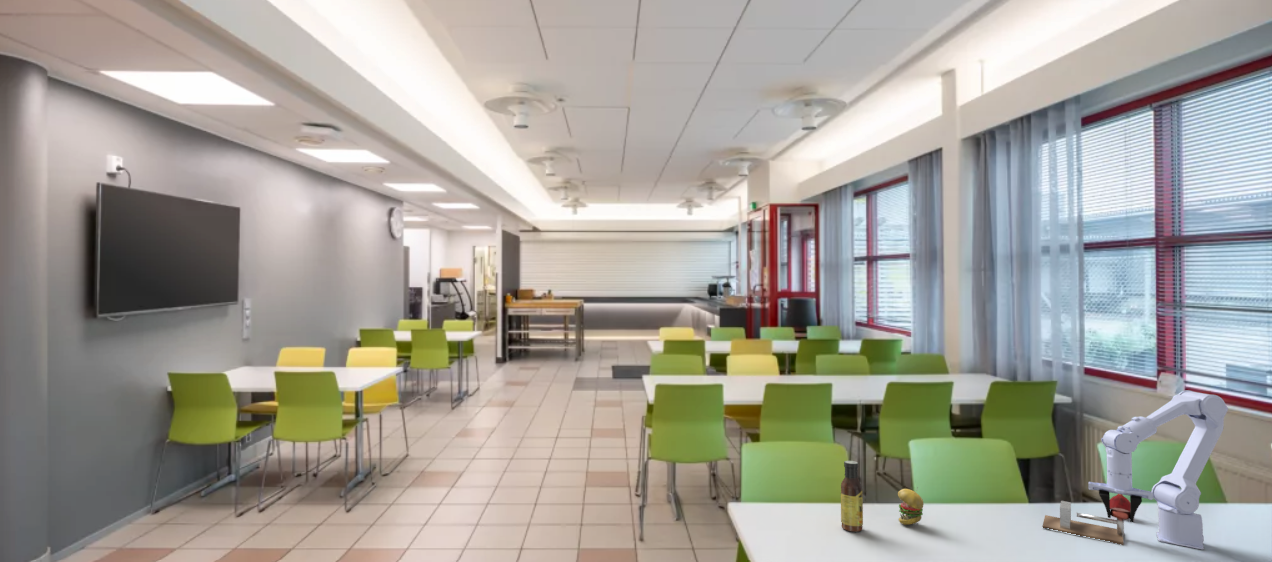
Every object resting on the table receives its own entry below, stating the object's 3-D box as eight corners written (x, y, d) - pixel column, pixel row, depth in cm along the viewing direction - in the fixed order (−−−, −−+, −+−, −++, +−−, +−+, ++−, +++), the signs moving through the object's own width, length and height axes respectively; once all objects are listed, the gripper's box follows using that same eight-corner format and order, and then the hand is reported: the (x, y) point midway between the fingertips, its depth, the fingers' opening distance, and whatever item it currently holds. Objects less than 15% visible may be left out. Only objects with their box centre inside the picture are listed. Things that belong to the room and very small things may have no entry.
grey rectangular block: (1070, 521, 182) (1070, 502, 182) (1070, 529, 175) (1069, 509, 176) (1061, 520, 183) (1061, 500, 183) (1060, 527, 177) (1059, 507, 177)
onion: (1133, 522, 184) (1132, 496, 184) (1109, 518, 188) (1109, 493, 188) (1131, 517, 189) (1131, 492, 189) (1108, 513, 192) (1108, 488, 193)
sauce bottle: (864, 533, 172) (864, 465, 173) (842, 531, 174) (842, 464, 174) (860, 525, 179) (860, 460, 180) (839, 523, 180) (839, 458, 181)
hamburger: (900, 518, 185) (900, 480, 186) (925, 523, 181) (925, 484, 181) (895, 526, 179) (895, 486, 179) (921, 531, 175) (921, 491, 175)
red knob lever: (1130, 534, 172) (1129, 510, 172) (1130, 538, 168) (1130, 514, 168) (1077, 523, 179) (1076, 500, 180) (1076, 528, 176) (1076, 504, 176)
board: (1122, 532, 176) (1122, 529, 176) (1123, 545, 166) (1123, 542, 166) (1045, 517, 187) (1045, 515, 187) (1042, 528, 178) (1042, 526, 178)
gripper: (1088, 470, 173) (1088, 516, 173) (1153, 480, 164) (1154, 529, 164) (1088, 465, 179) (1089, 510, 178) (1151, 474, 170) (1152, 521, 169)
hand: (1120, 519), depth 171 cm, fingers closed on red knob lever, 4 cm apart
